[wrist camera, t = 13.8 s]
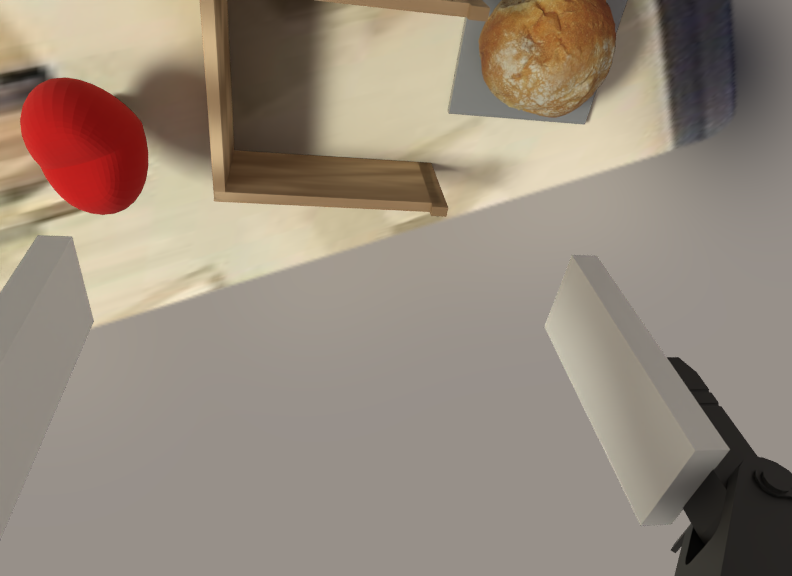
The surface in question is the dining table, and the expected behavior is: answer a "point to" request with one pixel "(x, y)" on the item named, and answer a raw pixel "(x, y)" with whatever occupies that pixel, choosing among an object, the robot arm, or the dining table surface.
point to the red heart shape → (86, 144)
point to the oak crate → (309, 174)
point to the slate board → (475, 94)
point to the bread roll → (547, 53)
